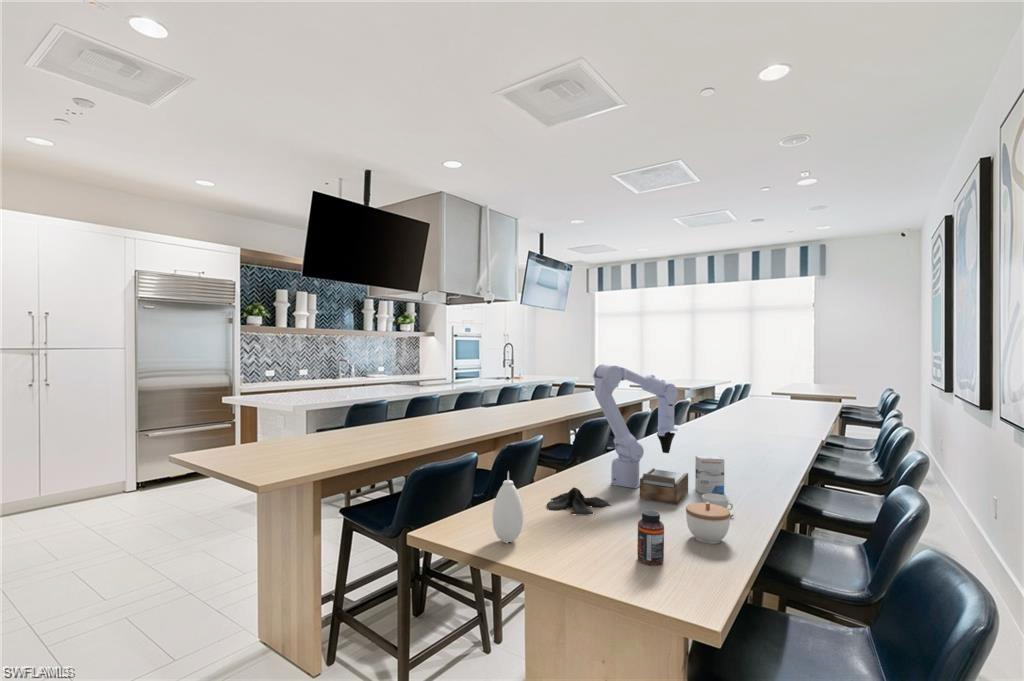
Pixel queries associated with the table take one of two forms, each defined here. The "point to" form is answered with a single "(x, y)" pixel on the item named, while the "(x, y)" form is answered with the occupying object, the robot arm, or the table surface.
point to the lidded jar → (707, 521)
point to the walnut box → (664, 491)
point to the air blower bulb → (507, 512)
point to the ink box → (709, 474)
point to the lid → (662, 478)
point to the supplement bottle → (650, 538)
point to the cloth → (575, 502)
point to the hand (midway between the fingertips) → (665, 452)
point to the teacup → (717, 500)
